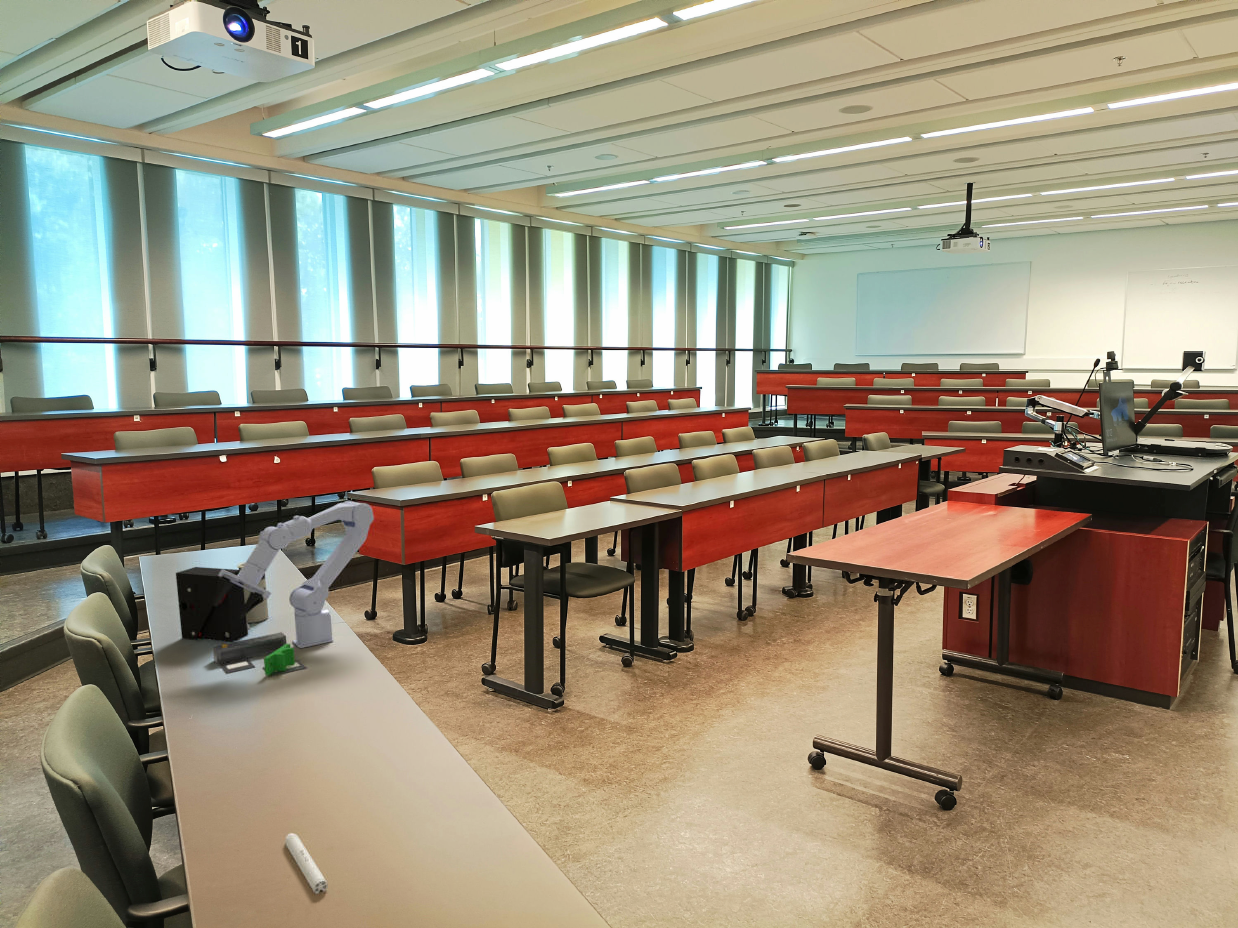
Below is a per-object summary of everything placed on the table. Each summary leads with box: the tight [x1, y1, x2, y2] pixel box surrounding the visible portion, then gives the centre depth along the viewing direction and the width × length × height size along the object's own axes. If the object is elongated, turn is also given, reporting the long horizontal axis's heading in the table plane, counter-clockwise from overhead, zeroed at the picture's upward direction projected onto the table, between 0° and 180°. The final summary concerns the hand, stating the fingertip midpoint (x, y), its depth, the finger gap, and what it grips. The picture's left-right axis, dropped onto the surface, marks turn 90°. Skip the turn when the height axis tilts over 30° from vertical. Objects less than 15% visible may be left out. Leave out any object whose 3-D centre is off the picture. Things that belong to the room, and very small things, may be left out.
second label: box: [262, 659, 307, 677], centre depth 219 cm, size 9×8×1 cm
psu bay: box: [212, 631, 288, 665], centre depth 230 cm, size 18×5×4 cm, turn 126°
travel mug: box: [236, 562, 270, 624], centre depth 263 cm, size 8×8×18 cm
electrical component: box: [175, 566, 251, 643], centre depth 247 cm, size 18×10×20 cm, turn 71°
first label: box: [219, 658, 256, 674], centre depth 222 cm, size 7×8×1 cm
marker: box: [285, 832, 329, 895], centre depth 131 cm, size 18×2×2 cm, turn 36°
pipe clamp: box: [263, 643, 296, 676], centre depth 219 cm, size 11×4×5 cm, turn 173°
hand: (227, 611), depth 222 cm, fingers open, 7 cm apart
